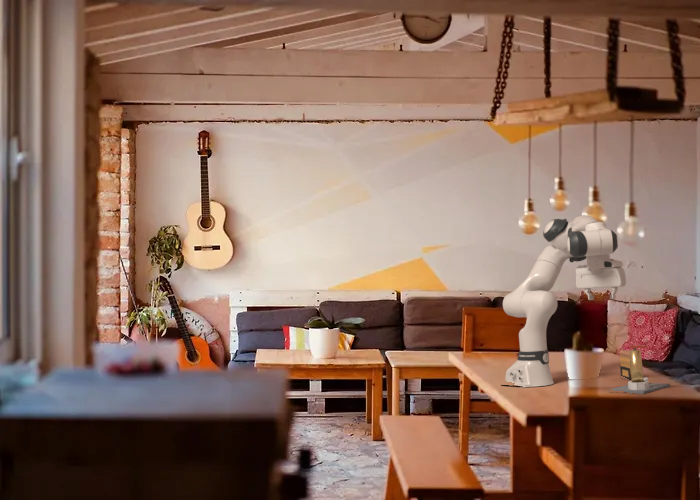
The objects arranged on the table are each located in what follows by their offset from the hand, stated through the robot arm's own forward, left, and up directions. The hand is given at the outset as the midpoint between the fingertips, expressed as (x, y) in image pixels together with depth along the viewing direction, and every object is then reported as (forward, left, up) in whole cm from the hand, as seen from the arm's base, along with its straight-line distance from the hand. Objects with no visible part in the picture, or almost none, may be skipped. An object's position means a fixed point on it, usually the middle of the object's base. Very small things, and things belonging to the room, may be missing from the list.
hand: (601, 299), depth 331 cm
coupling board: (+13, -1, -34) cm, 37 cm away
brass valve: (+16, -5, -33) cm, 37 cm away
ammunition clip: (-6, +24, -34) cm, 42 cm away
